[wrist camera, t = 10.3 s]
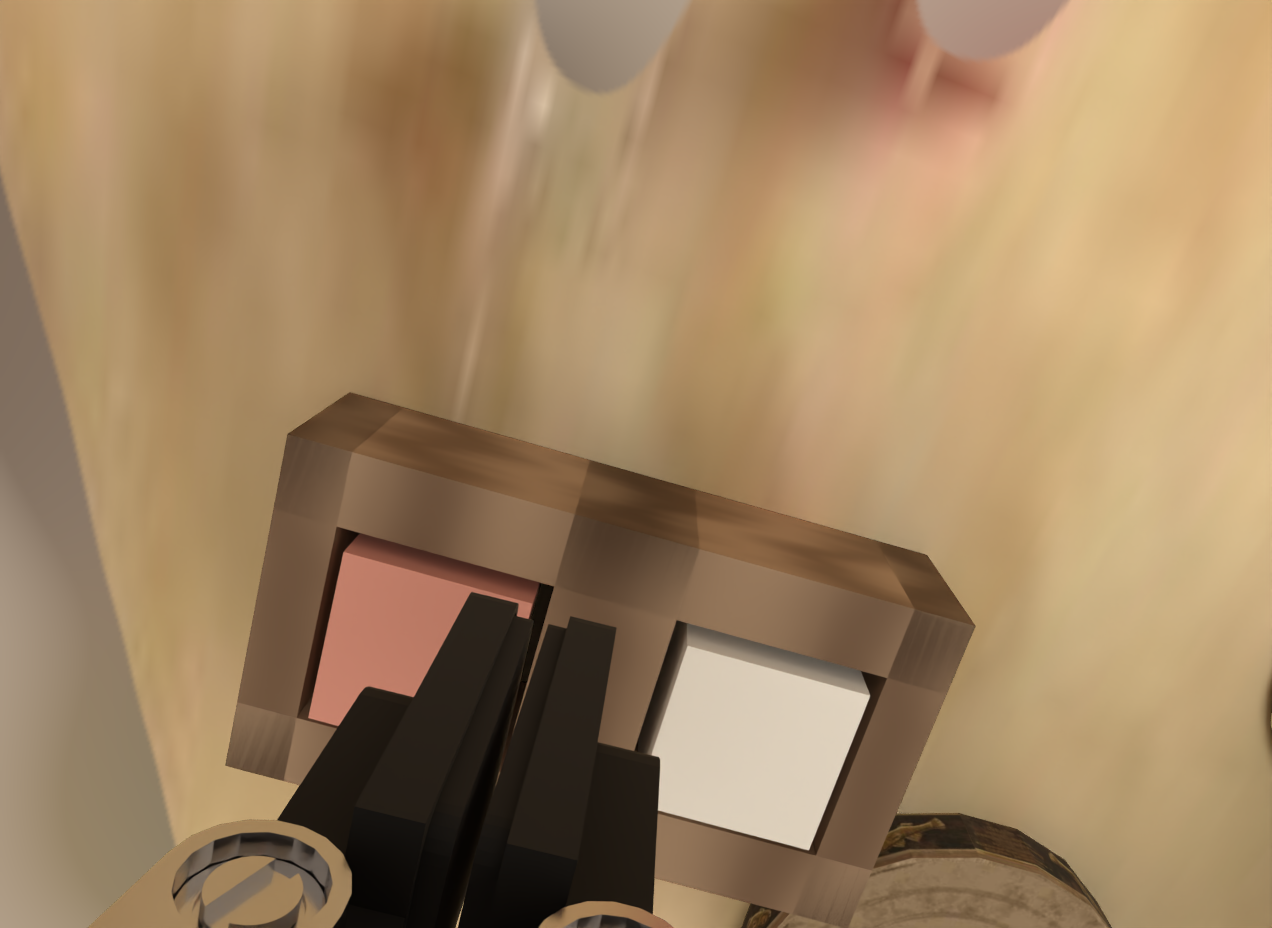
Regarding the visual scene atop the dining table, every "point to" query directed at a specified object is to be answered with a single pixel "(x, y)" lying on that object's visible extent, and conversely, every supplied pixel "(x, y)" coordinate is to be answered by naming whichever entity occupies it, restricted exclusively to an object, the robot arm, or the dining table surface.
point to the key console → (611, 614)
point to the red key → (397, 618)
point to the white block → (750, 733)
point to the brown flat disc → (960, 881)
